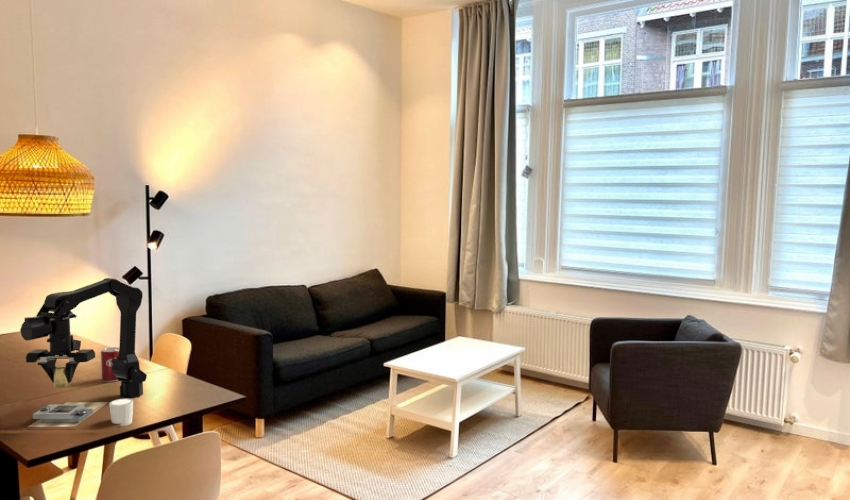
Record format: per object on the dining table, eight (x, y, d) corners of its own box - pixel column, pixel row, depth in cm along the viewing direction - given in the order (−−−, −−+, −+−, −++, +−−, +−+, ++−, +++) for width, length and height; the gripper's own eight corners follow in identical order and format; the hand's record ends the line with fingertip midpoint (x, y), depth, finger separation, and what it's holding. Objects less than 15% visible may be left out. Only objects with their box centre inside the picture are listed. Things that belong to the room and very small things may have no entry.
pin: (73, 383, 196) (72, 364, 195) (65, 387, 191) (64, 368, 191) (59, 383, 195) (58, 365, 195) (51, 387, 191) (50, 369, 191)
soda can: (97, 380, 236) (96, 350, 235) (114, 375, 243) (113, 346, 242) (109, 383, 233) (108, 352, 232) (126, 378, 239) (125, 348, 238)
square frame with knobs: (93, 413, 199) (92, 402, 199) (78, 423, 190) (78, 412, 190) (49, 413, 198) (48, 402, 198) (32, 423, 190) (32, 412, 189)
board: (108, 405, 210) (108, 402, 210) (74, 429, 188) (74, 426, 188) (66, 405, 209) (66, 402, 209) (27, 429, 187) (27, 426, 187)
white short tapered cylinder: (137, 419, 197) (137, 398, 196) (128, 427, 190) (127, 405, 189) (116, 419, 196) (115, 398, 196) (105, 427, 190) (104, 405, 189)
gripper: (102, 328, 200) (104, 374, 202) (44, 328, 199) (46, 375, 201) (85, 336, 189) (87, 385, 191) (23, 336, 188) (25, 385, 190)
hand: (62, 382), depth 193 cm, fingers closed on pin, 4 cm apart
